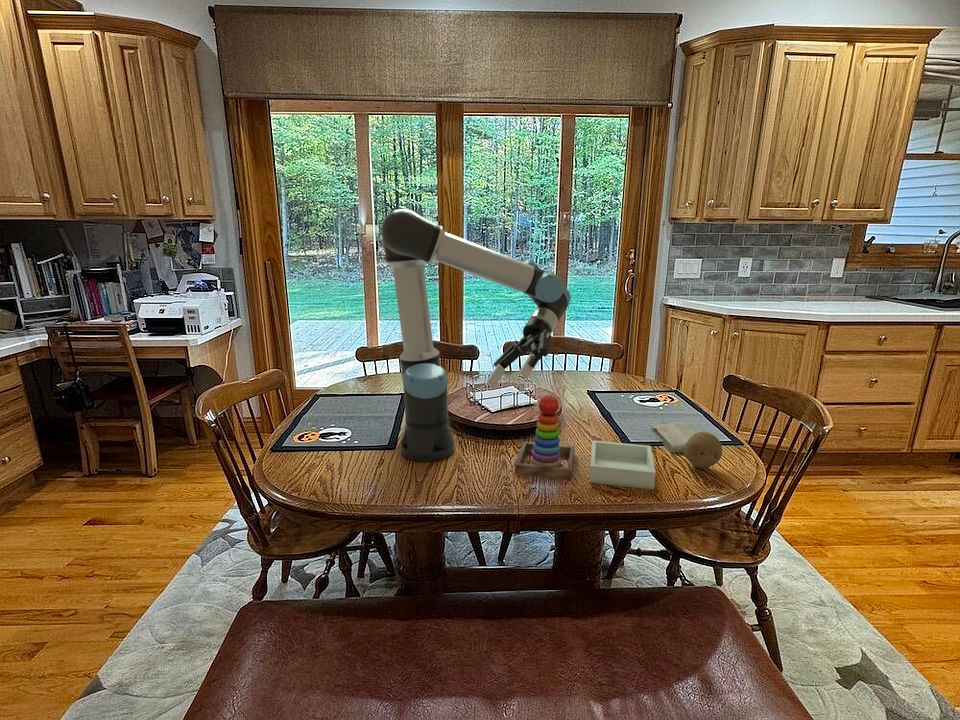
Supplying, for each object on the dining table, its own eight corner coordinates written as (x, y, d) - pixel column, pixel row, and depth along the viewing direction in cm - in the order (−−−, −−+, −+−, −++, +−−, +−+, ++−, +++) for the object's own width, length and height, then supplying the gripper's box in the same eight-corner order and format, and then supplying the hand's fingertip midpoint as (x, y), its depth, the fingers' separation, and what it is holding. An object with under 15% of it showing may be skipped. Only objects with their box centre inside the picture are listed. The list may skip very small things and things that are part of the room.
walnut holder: (514, 473, 129) (515, 464, 129) (523, 449, 142) (523, 441, 142) (570, 479, 126) (571, 470, 126) (574, 454, 139) (574, 446, 139)
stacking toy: (560, 472, 130) (563, 403, 125) (528, 469, 131) (530, 400, 126) (561, 458, 137) (564, 392, 132) (532, 455, 139) (533, 390, 134)
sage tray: (589, 482, 125) (590, 465, 124) (591, 455, 139) (592, 440, 138) (653, 489, 121) (655, 472, 120) (649, 461, 135) (650, 445, 134)
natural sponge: (720, 480, 126) (726, 443, 123) (682, 474, 129) (686, 437, 126) (718, 464, 134) (723, 428, 131) (681, 458, 137) (685, 424, 134)
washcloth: (685, 428, 158) (686, 419, 157) (713, 454, 140) (715, 444, 140) (647, 429, 157) (648, 419, 156) (671, 455, 140) (672, 445, 139)
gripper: (579, 325, 138) (547, 381, 127) (519, 345, 158) (487, 396, 146) (563, 305, 136) (529, 360, 124) (504, 328, 155) (470, 378, 144)
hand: (506, 379), depth 135 cm, fingers open, 13 cm apart
